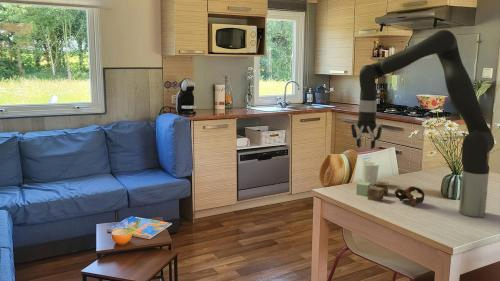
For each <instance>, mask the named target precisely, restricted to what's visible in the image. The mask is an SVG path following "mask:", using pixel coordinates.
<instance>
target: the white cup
mask: <svg viewBox="0 0 500 281" xmlns="http://www.w3.org/2000/svg"><path fill="white" fill-rule="evenodd" d="M361 164H362V165H361V172H362V174H361V175H362V176H361V177H362V181H361V182H367V183H371V186H376V185H375V184H376V183H377V181H378V174H379V166H380V165H379V163H377V162H374V161H372V162H371V161H369V162H368V161H365V162H362V163H361Z"/></svg>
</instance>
